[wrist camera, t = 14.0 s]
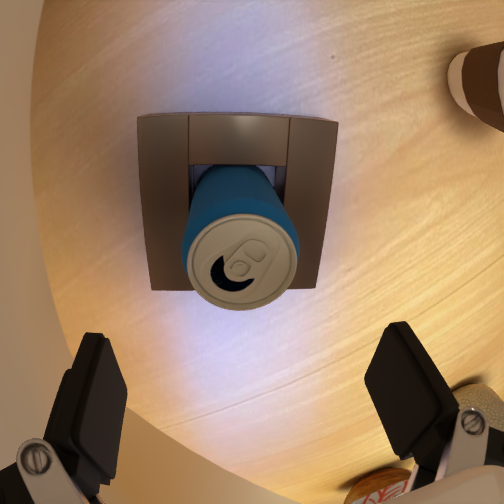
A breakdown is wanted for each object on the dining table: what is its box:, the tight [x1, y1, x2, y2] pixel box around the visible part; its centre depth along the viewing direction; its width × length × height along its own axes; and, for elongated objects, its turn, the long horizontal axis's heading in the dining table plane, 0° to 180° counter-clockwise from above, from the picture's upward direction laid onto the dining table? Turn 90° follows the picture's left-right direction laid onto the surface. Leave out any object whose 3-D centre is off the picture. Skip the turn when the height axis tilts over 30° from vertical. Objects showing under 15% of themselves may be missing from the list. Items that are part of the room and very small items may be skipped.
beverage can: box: [181, 165, 300, 311], centre depth 21 cm, size 6×6×12 cm
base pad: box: [137, 112, 338, 291], centre depth 25 cm, size 14×14×4 cm
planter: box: [452, 384, 504, 432], centre depth 43 cm, size 21×21×19 cm
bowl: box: [344, 467, 412, 504], centre depth 66 cm, size 25×25×8 cm
